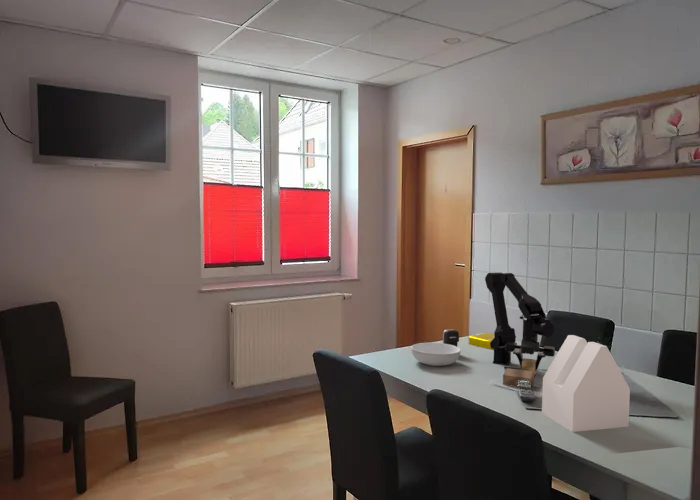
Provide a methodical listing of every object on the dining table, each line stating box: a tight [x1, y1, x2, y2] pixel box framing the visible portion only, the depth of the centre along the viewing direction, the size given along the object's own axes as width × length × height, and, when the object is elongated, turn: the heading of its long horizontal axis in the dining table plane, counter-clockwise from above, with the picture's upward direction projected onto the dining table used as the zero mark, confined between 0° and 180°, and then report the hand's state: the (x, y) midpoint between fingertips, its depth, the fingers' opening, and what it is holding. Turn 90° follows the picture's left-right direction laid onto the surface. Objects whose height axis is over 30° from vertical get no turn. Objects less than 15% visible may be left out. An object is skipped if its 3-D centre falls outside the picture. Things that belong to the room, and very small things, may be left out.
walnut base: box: [502, 367, 535, 387], centre depth 199 cm, size 10×10×4 cm
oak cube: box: [521, 357, 537, 376], centre depth 211 cm, size 5×5×5 cm
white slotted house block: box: [541, 334, 631, 433], centre depth 162 cm, size 19×15×25 cm
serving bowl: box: [411, 342, 461, 367], centre depth 225 cm, size 21×21×7 cm
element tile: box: [467, 332, 495, 350], centre depth 260 cm, size 15×15×5 cm
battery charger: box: [442, 329, 460, 347], centre depth 239 cm, size 7×4×11 cm, turn 105°
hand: (529, 370), depth 211 cm, fingers closed on oak cube, 5 cm apart
